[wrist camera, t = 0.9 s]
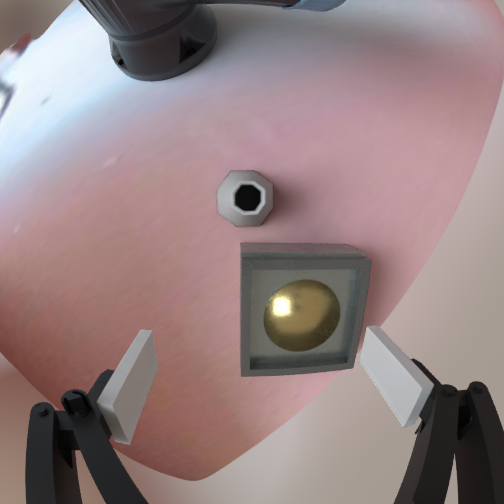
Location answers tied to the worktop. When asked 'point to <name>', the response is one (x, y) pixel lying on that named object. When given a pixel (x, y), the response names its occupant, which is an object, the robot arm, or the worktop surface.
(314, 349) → the grey boxy piece
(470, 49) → the worktop surface
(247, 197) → the flask
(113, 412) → the robot arm
